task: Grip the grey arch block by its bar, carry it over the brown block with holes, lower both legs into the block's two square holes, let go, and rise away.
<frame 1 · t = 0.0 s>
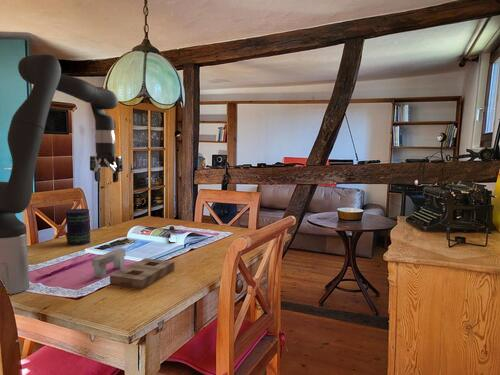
hand: (106, 181, 159), 29 cm above the table, tool pointing down, fingers open, 8 cm apart
grey arch block: (109, 272, 137), on the table
storage jar: (78, 243, 176), on the table
brown block with holes: (144, 276, 133), on the table
hand tool: (171, 239, 187), on the table
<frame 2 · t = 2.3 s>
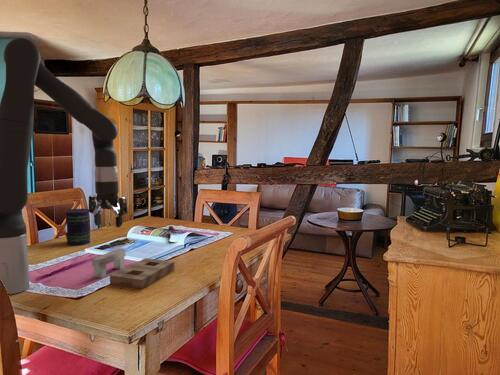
hand: (108, 226, 135), 16 cm above the table, tool pointing down, fingers open, 8 cm apart
nothing on the table moved.
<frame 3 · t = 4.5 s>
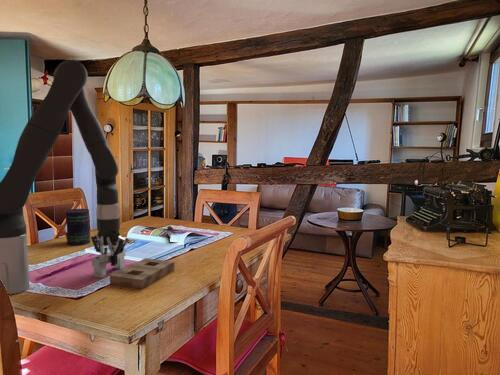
hand: (109, 264, 137), 3 cm above the table, tool pointing down, fingers closed on grey arch block, 3 cm apart
grey arch block: (109, 271, 137), on the table, touching gripper
everything else where it was.
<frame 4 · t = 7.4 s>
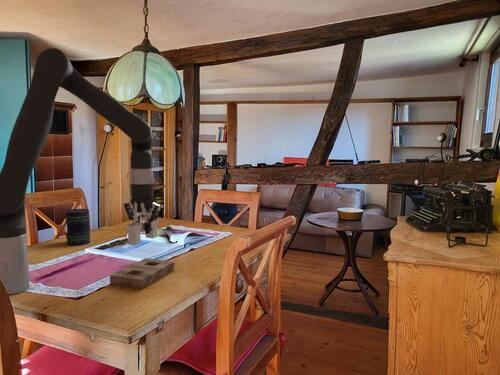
hand: (143, 232, 131), 15 cm above the table, tool pointing down, fingers closed on grey arch block, 3 cm apart
grey arch block: (143, 240, 131), point 13 cm above the table, touching gripper
everything else where it was.
when the fingers open (4 cm above the table, at t = 10.1 s): grey arch block drops 1 cm, on the table.
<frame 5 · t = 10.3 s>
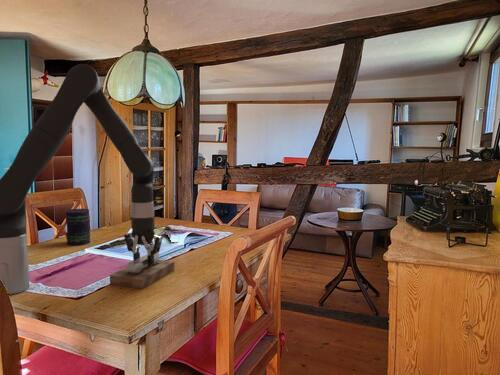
hand: (143, 264, 132), 4 cm above the table, tool pointing down, fingers open, 4 cm apart
grey arch block: (144, 276, 133), on the table
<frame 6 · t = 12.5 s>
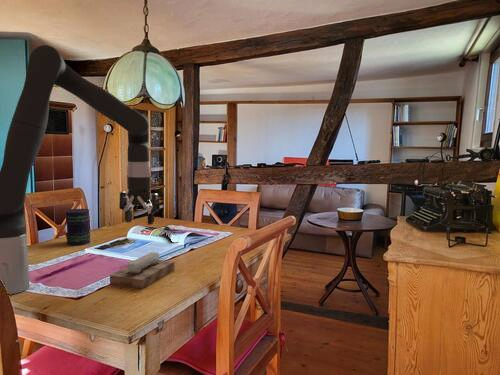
hand: (139, 223, 131), 18 cm above the table, tool pointing down, fingers open, 8 cm apart
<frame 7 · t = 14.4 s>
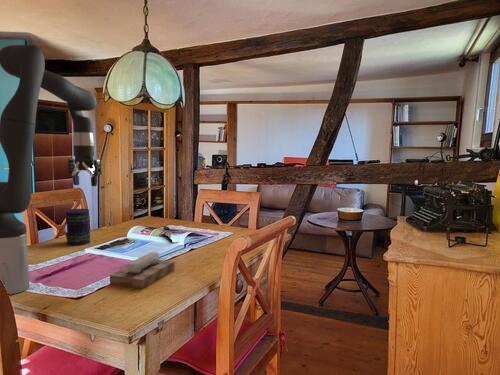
hand: (85, 185, 154), 28 cm above the table, tool pointing down, fingers open, 8 cm apart
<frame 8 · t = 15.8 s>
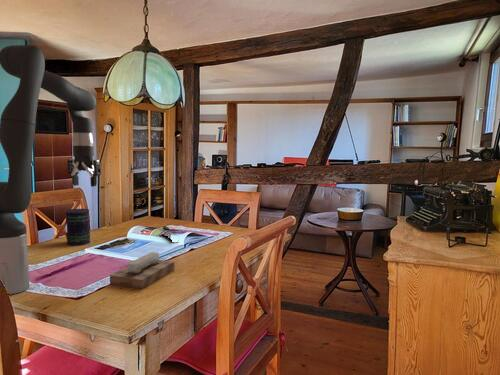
hand: (84, 185, 154), 28 cm above the table, tool pointing down, fingers open, 8 cm apart
at the end: grey arch block 0.0 cm off-centre on the brown block with holes, point 0.0 cm above the brown block with holes's base; grey arch block tilted 0°; the gripper is holding nothing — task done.
